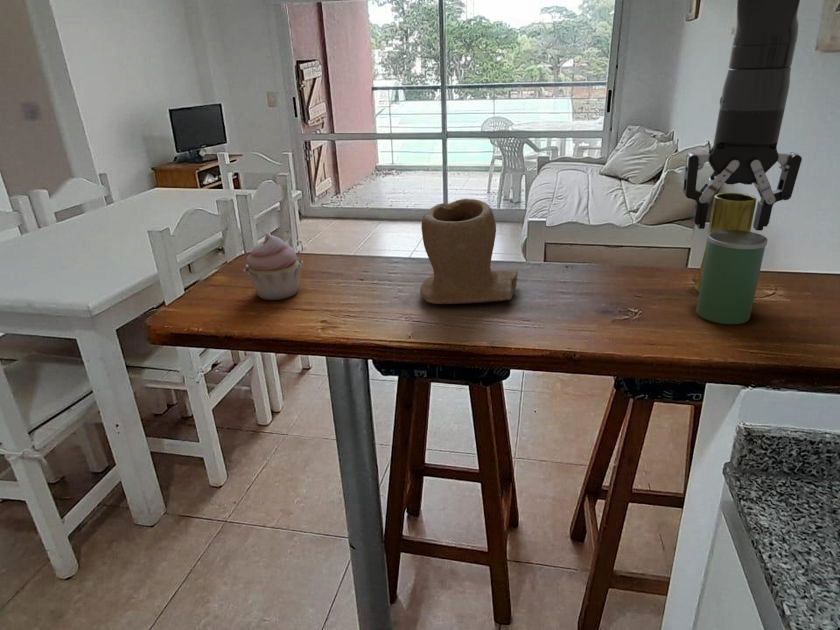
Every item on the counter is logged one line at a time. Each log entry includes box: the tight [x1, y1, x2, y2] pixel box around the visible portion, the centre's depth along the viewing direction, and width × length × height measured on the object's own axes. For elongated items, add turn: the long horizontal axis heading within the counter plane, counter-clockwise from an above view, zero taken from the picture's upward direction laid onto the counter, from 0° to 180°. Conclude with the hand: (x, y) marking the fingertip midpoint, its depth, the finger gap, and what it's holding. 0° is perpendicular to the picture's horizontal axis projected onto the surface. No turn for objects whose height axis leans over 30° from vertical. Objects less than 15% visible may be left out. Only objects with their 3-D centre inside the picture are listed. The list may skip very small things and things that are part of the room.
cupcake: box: [242, 233, 304, 301], centre depth 90 cm, size 9×9×10 cm
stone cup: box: [419, 198, 519, 305], centre depth 84 cm, size 15×12×15 cm
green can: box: [695, 230, 768, 325], centre depth 76 cm, size 7×7×11 cm
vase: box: [694, 192, 757, 293], centre depth 83 cm, size 6×6×14 cm
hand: (728, 228), depth 82 cm, fingers open, 7 cm apart
